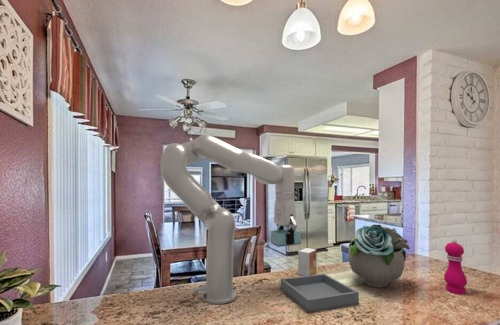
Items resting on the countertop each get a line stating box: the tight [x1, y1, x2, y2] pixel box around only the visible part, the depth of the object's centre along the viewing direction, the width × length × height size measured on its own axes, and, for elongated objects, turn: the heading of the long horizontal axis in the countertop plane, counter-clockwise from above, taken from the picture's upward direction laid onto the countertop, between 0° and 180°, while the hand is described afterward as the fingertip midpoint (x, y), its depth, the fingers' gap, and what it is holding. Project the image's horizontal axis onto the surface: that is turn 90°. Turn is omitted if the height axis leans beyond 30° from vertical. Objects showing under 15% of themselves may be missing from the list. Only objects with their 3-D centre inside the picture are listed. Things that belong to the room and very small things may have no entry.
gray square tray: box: [280, 273, 360, 314], centre depth 102 cm, size 20×20×4 cm
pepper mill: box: [443, 238, 468, 295], centre depth 109 cm, size 7×7×20 cm
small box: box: [297, 247, 317, 276], centre depth 128 cm, size 8×6×10 cm
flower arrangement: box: [347, 224, 411, 288], centre depth 116 cm, size 25×25×24 cm
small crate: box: [270, 228, 302, 248], centre depth 110 cm, size 10×6×5 cm, turn 112°
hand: (285, 241), depth 110 cm, fingers closed on small crate, 6 cm apart
